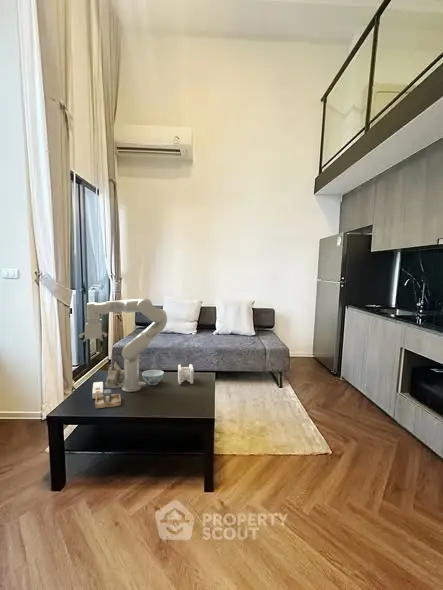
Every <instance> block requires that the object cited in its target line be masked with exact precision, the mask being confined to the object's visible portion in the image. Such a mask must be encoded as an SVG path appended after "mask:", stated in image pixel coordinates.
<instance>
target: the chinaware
mask: <svg viewBox="0 0 443 590" xmlns="http://www.w3.org/2000/svg"><path fill="white" fill-rule="evenodd" d="M164 374H165V372H164V371H163V370H160V369H149V370H144V371H143V372H141V375H142V378H143V381H144V382H146V384H147V385H150V386H155V385H158V383H159V382H160V381H161V380H162V379H163V377H164Z"/></svg>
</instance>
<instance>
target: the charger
mask: <svg viewBox="0 0 443 590" xmlns="http://www.w3.org/2000/svg"><path fill="white" fill-rule="evenodd" d="M111 389H112V388H107V389H103V395H104V403H105V402H111V395H112V390H111Z"/></svg>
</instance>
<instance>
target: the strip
mask: <svg viewBox="0 0 443 590" xmlns="http://www.w3.org/2000/svg"><path fill="white" fill-rule="evenodd" d="M103 395H104V382H103V381H96V382H93V384H92V395H91V396H92V399H93V400H94V399H95V400H96V396H103Z"/></svg>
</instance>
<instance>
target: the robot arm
mask: <svg viewBox="0 0 443 590" xmlns="http://www.w3.org/2000/svg"><path fill="white" fill-rule="evenodd" d="M114 312H115V313H117V312H122V313H141V314H143V316H145V317H146V318H148V319H149V320H150V321H152V323H151V324H150V325H148V326H147V327H146V328H145V329H144V330H143V331H141V332H140V333H138V334H137V336H136V337H134V338H133V339H132V340H131V341H129V342H127V343H126V344H125V346H123V348H122V351H121V356H122V357H123V360H124V361H123V370H124V386H122V387H121V391H123V392H132V393H133V392H138V391H140V390H141V389H142V386H146V385H147V382H146V381H140V354H141V353H142V352H143V351H145V350H146V349H147V348H148V347H149V346H150V344H151V343H152V342H153V340H154V339H155V338H157V337H158V336H159V335H160V334H161V333H162V332H163V330H164V329H165V328H166V326H167V322H168V316H167V312H166V310H164V309H163V308H157V307H156V306H155V305H153V303H152V300H151V299H149V298H135V299H134V298H133V299H121V300H112V301H111V300H110V301H104V302H96V301H95V302H94V301H92V302H91V301H90V302H87V303H86V323H85V326H84V332H82V333H80V334H79V335H78V338H79V339H80V340H81V341H82V342H83V347H84V349H85V348H87V340H91V339H92V340H93V339H95V340H97V339H99V340H100V343H99V344H100V348H102V346H103V345H104V343H103V342H104V340H106V339H107V337H108V333H106V332H104V331H102V323H101V322H103V320H102V319H101V318H100V315H107V314H109V313H114ZM102 335H104V336H103V337H102ZM83 336H84V338H83Z"/></svg>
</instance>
